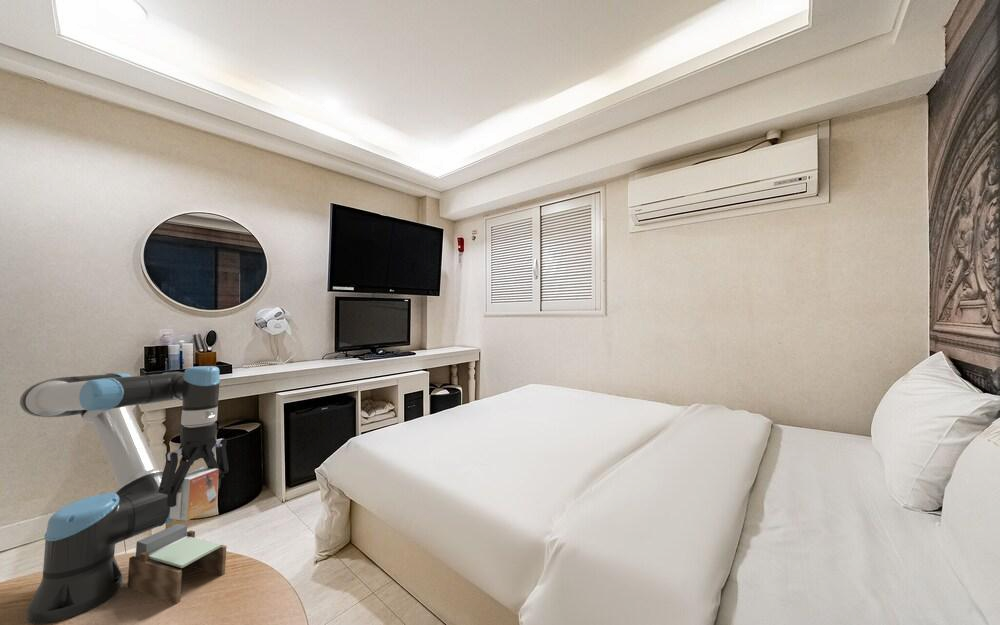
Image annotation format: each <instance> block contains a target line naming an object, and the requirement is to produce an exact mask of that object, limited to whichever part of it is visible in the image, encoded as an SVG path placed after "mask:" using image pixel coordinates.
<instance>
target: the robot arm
mask: <svg viewBox="0 0 1000 625" xmlns="http://www.w3.org/2000/svg"><path fill="white" fill-rule="evenodd" d="M220 378H221V377H220V368H219V367H218V366H212V365H210V366H209V365H207V366H206V365H203V366H202V365H201V366H190V367H187V368H186V369H184V372H183V371H166V372H162V373H157V374H145V375H134V376H133V375H131V374H129V373H124V372H123V373H115V372H110V373H105V374H90V375H75V376H64V377H63V376H62V377H54V378H50V379H45V380H42V381H40V382H37V383H35V384H32V385H31V386H29V387H28V388H26V390H24V391H23V393H22V395H21V396H20V399H19V406H20V408H21V409H22V411H24V412H25V413H26V414H28V415H30V416H34V417H38V418H59V417H60V418H61V417H62V418H63V417H68V416H75V415H76V416H77V415H81V417H82V418H81V419H82V420H83V421H84V422H85V423H87V424H91V425H93V427H94V429H95V433H96V434H97V436H98V440H99V441H100V444H101V446H102V449H103V451H104V454H105V456H106V458H107V461H108V463H109V466H110V468H111V469H110V470H111V471H112V473H113V475H114V479H115V481H116V482H117V485H118V489H117V490H116V491H115V492H106V493H104V492H103V493H100V494H97V495H91V496H88V497H84V498H81V499H79V500H76V501H74V502H71V503H69V504H66V505H65V506H63V507H61V508H59V509H58V510H57V511H56V512H54V513H53V514H52V515H51V517H49V520H48V521H47V526H46V532H45V533H44V545H45V546H44V555H43V556H44V557H43V565H42V566H43V567H42V569H43V570H42V577H41V578H42V579H41V581H40V583H39V585H38V587H37V589H36V591H35V593H34V595H33V597H32V598H31V601H30V603H29V605H28V608H27V617H26V618H27V621H28V623H31V624H37V623H38V624H37V625H39V624H41V623H42V624H50V623H54V622H59V621H62V620H66V619H69V618H72V617H75V616H78V615H80V614H83V613H85V612H87V611H90V610H92V609H93V608H96V607H99V605H101V604H103V603H105V602H106V601H107V600H109V599H111V598H112V597H113V596H114V595H116V594H117V593H118V592H119V590H120V589H121V587H122V585H123V574H122V570H121V569H120V567H119V565H118V563H117V559H116V558H115V551H116V550H115V548H116V545H117V544H118V543H120V542H123V541H125V540H128V539H130V538H133V537H136V536H139V535H140V534H143V533H146V532H149V531H150V530H153V529H155V528H158V527H162V526H164V525H165V524H167V523H169V522H172V521H173V520H177V519H179V518H180V513H181V497H182V492H179V489H180V487H181V485H182V483H183V480H184V478H185V476H186V474H187V473H189V470H190V467H191V466H193V465H194V463H195V461H198V460H199V459H200V460H201V459H203V461H204V463H205V465H206V466H207V467H206V468H212V469H215V468H216V469H219V473H218V489H217V497H218V494H219V493H218V492H219V489H221V484H222V479H223V478H224V476H225V474H228V472H229V471H230V469H229V461H228V453H227V443H228V440H227V439H226V438H220V437H219V438H217V439H216V436H217V428H218V423H217V422H216V421H218V411H219V410H218V409H219V394H220V384H221V379H220ZM169 401H170V402H171V401H182V407H181V409H182V411H181V420H180V424H181V425H182V427H181V428H180V434H179V435H180V446H179V448H178V449H176V450H174V451H167V452H165V454H164V455H165V464H164V469H159V468H158V465H157V463H156V460H155V458H154V457H153V453H152V452H151V448H149V445H148V443H147V440H146V438H145V436H144V434H143V433H142V430H141V428H140V426H139V423H138V421H137V418H136V416H135V414H134V412H133V410H134V409H135V408H136V406H138V405H145V404H146V405H147V404H153V403H154V404H155V403H162V402H169ZM214 447H215V448H214ZM213 448H214V449H215V453H214V451H213ZM180 455H181V458H180ZM215 455H216V457H215ZM179 459H180V460H179ZM178 463H179V464H178ZM171 518H172V519H171ZM177 521H178V520H177Z"/></svg>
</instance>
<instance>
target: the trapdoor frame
mask: <svg viewBox="0 0 1000 625" xmlns="http://www.w3.org/2000/svg"><path fill="white" fill-rule="evenodd" d="M187 536H189V537H193V538H196V537H195V536H196V531H195V530H187ZM226 558H227V545H224V544H221V547H220V548H218V549H216V550H214V551H212V552H211V553H209V554H207V555H205V556H203V557H201V558H200V559H198V560H196V561H194V562H192V563H190V564H189V565H187V567H191V568H194V569H197V570H198V569H199V570H201V571H204V572H208V573H211V574H214V575H219V576H224V575H225V574H226V564H227V563H226V562H227V561H226V560H227V559H226ZM128 559H129V560H128V572H127V587H126V588H128V589H131V590H134V591H138V592H140V593H143V594H146V595H149V596H152V597H154V598H155V597H156V598H158V599H161V600H164V601H166V602H170V603H173V604H179V603H180V602H181V594H182V592H181V590H182V589H181V588H182V577H183V576H182V575H183V570H182V569H178V568H175V567H173V565H170V564H166V563H163V562H160V561H158V562H156V563H155V562H152V561H148V559H149V553H146V552H142V553H140V558H138V557H136V555H135V556H134V555H133V556H130V557H129V558H128Z"/></svg>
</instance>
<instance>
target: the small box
mask: <svg viewBox="0 0 1000 625" xmlns="http://www.w3.org/2000/svg"><path fill="white" fill-rule="evenodd" d="M218 473H219V469H216V468H215V469H212V468H208V467H206V466H202V467H200V468H197V469H196V470H193V471H188V472H187V474H186V476H185V478H184V480H183V483H182V485H181V487H180V489H179V492H182V497H181V513H180V518H179V519H177V521H187V522H188V521H190V520H191V519H193V518H196V517H197V516H200V515H202V514H204V513H206V512H208V511H211V510H214V509H215V508H216V507H217V503H218V496H217V489H218ZM218 490H219V489H218ZM171 519H172V518H171Z"/></svg>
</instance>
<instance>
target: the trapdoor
mask: <svg viewBox="0 0 1000 625" xmlns="http://www.w3.org/2000/svg"><path fill="white" fill-rule="evenodd" d="M187 532H188V525H184V524H180V523H176V524H174V525H171V526H168V528H165V529H162V530H161V531H158V532H155V533H153V534H151V535H149V536H146V537H144V538H142V539H140V540H137V541H136V548H135V557H138V558H140V553H142V552H146V553H149V559H148V561H152V562H155V563H156V562H158V561H160V562H163V563H166V564H170V565H173V566H174V567H177V568H180V569H183V568H185V567H186V566H187V565H189V564H190V563H192V562H194V561H196V560H198V559H200V558H201V557H203V556H205V555H207V554H209V553H211V552H212V551H214V550H216V549H218V548H220V547H221V545H222V544H221V543H216V542H212V541H208V540H205V539H201V538H197V537H195V538H193V537H189V536H187ZM173 566H172V567H173ZM187 567H188V566H187Z"/></svg>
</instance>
